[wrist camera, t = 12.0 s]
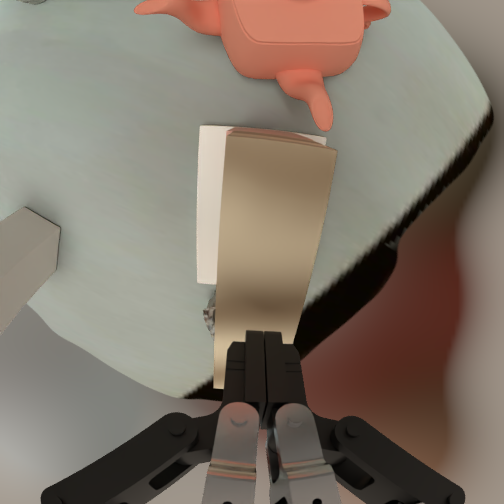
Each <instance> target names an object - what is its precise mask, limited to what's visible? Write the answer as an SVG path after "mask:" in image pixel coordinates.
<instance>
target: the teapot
mask: <svg viewBox="0 0 504 504" xmlns="http://www.w3.org/2000/svg"><path fill="white" fill-rule="evenodd" d="M363 5H367V6H364V7H363ZM134 12H135V13H136V14H141V15H146V14H169V15H171V16H174V17H176V18H178V19H179V20H181V21H182V22H183V23H184V24H185V25H187V26H188V27H189V28H191V29H192V30H194V31H196V32H198V33H202V34H206V35H214V36H221V39H222V42H223V45H224V47H225V50H226V52H227V54H228V57H229V59H230V61H231V62H232V64H233V66H234V67H235V69H236V70H237V71H238V72H239V73H240V74H242V75H243V76H246V77H248V78H253V79H277V81H278V83H279V85H280V87H281V89H282V90H283V91H284V92H285V93H286V94H287V95H289V96H290V97H292V98H295V99H298V100H303V101H305V102H306V103H307V105H308V106H309V109H310V111H311V114H312V117H313V119H314V121H315V123H316V125H317V126H318V127H319V129H321V130H322V131H329V130H330V129H331V127H332V124H333V109H332V105H331V102H330V99H329V96H328V94H327V92H326V90H325V87H324V82H323V77H327V76H334V75H338V74H341V73H343V72H344V71H346V70H347V69H348V68H349V67H350V66H351V65H352V64H353V63H354V61H355V60H356V58H357V56H358V54H359V51H360V48H361V44H362V40H363V33H364V29H367V28H369V27H370V24H371V21H376V20H380V19H383V18H385V17H387V16H389V14H390V12H391V6H390V3H389V1H388V0H203V1H196V0H147V1H144V2H142V3H140V4H139V5H137V6H136V7H135V9H134Z"/></svg>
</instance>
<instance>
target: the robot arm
mask: <svg viewBox="0 0 504 504" xmlns="http://www.w3.org/2000/svg"><path fill="white" fill-rule="evenodd" d="M17 1H21V2H24V3H29V4H39V3H41V2H44V1H45V0H17ZM260 426H261V429H267V440H266V444H265V446H266V455H267V463H268V471H269V479H270V490H269V497H270V504H341V500H340V495H339V491H338V487H337V483H336V481H337V482H338V483H340V484H341V485H342V486H344V487H345V488H346V489H348V490H349V491H350V492H351V493H353V494H354V495H356V496H357V497H358V498H359V499H361V500H362V501H363V502H365V503H366V504H464V502H465V493H464V491H463V489H462V488H461V487H460V486H458V485H456V484H455V483H453V482H451V481H450V480H448V479H447V478H445V477H444V476H442V475H440V474H439V473H437V472H436V471H434V470H433V469H431V468H430V467H428V466H427V465H425V464H424V463H422V462H421V461H419V460H418V459H416V458H415V457H414V456H412V455H411V454H409V453H407V452H406V451H405V450H404V449H402V448H401V447H399V446H398V445H396V444H395V443H393V442H392V441H391V440H390V439H388V438H387V437H386V436H384V435H383V434H382V433H380V432H379V431H377V430H376V429H375V428H373V427H372V426H371V425H370V424H368V423H367V422H366V421H364V420H363V419H361V418H359V417H356V416H347V417H344V418H342V419H341V420H339V421H336V420H331V419H327V418H323V417H320V416H318V415H316V414H314V413H313V412H312V411H311V410H310V408H309V407H308V405H307V401H306V395H305V388H304V382H303V376H302V370H301V365H300V357H299V352H298V351H297V350H296V348H295V347H294V345H293V344H283V340H282V333H281V332H277V331H264V333H263V331H255V330H246V334H245V342H238V341H233V342H232V343H231V345H230V346H229V348H228V349H227V357H226V369H225V380H224V392H223V401H222V404H221V406H220V408H219V409H218V410H217V411H216V412H214V413H213V414H210V415H207V416H203V417H198V418H191V417H190V416H188V415H186V414H184V413H178V412H175V413H170V414H167V415H165V416H163V417H162V418H161V419H159V420H158V421H156V422H155V423H154V424H152V425H151V426H149V427H148V428H146V429H145V430H143V431H142V432H140V433H139V434H138V435H136V436H134V437H133V438H132V439H130V440H129V441H127V442H126V443H124V444H122V445H121V446H119V447H118V448H116V449H115V450H113V451H112V452H110V453H108V454H107V455H105V456H103V457H102V458H100V459H98V460H97V461H95V462H93V463H92V464H90V465H88V466H87V467H85V468H83V469H82V470H80V471H78V472H76V473H74V474H72V475H71V476H69V477H67V478H65V479H63V480H62V481H60V482H58V483H56V484H54V485H52V486H50V487H48V488H46V489H45V490H44V491H43V492H42V494H41V504H145V503H147V502H149V501H150V500H151V499H153V498H154V497H156V496H157V495H159V494H160V493H162V492H163V491H164V490H166V489H167V488H168V487H170V486H171V485H172V484H174V483H175V482H176V481H177V480H179V479H180V478H182V477H183V476H184V475H185V474H187V473H188V472H189V471H190V470H192V469H193V468H194V467H195V466H197V465H198V464H199V463H205V462H210V461H211V462H210V465H209V468H208V471H207V477H206V482H205V488H204V494H203V499H202V504H254V497H255V485H256V456H257V444H258V431H259V427H260Z"/></svg>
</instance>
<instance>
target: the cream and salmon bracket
mask: <svg viewBox="0 0 504 504" xmlns="http://www.w3.org/2000/svg"><path fill="white" fill-rule="evenodd" d="M233 131H246V132H256V133H265V134H273V135H281V136H288V137H295V138H301V139H308V140H313V141H315V142H318V143H320V144H323V145H325V146H326V139H327V138H326V137H323V136H317V135H310V134H304V133H296V132H289V131H280V130H271V129H261V128H250V127H235V126H216V125H200V134H199V154H198V180H197V283H204V284H216V281H217V260H218V242H219V225H220V210H221V196H222V183H223V170H224V158H225V147H226V136H227V135H228V134H230V133H231V132H233Z"/></svg>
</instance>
